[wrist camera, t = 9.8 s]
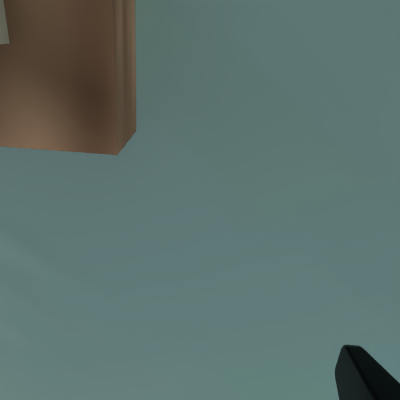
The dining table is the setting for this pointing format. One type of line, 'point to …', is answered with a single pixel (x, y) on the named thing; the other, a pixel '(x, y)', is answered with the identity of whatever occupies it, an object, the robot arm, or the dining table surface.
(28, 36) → the walnut block
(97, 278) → the dining table surface
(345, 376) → the robot arm
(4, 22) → the sage cube
